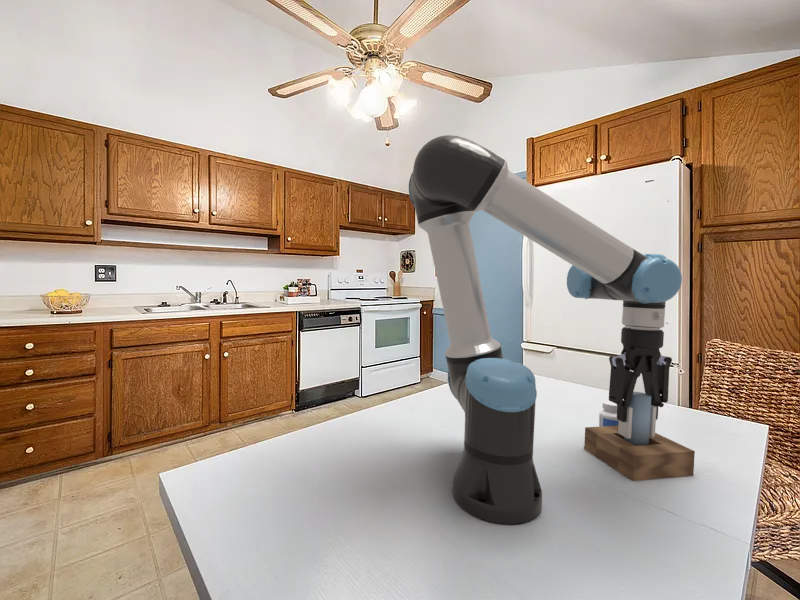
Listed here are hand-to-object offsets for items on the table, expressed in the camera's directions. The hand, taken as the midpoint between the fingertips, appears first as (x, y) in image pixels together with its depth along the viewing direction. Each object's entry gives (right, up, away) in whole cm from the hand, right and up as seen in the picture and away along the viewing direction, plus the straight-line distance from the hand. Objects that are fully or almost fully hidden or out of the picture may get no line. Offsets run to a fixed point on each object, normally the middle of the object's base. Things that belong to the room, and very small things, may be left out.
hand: (636, 434), depth 79 cm
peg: (0, -5, 0) cm, 5 cm away
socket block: (0, -6, 0) cm, 6 cm away
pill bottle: (+1, -6, +10) cm, 12 cm away
